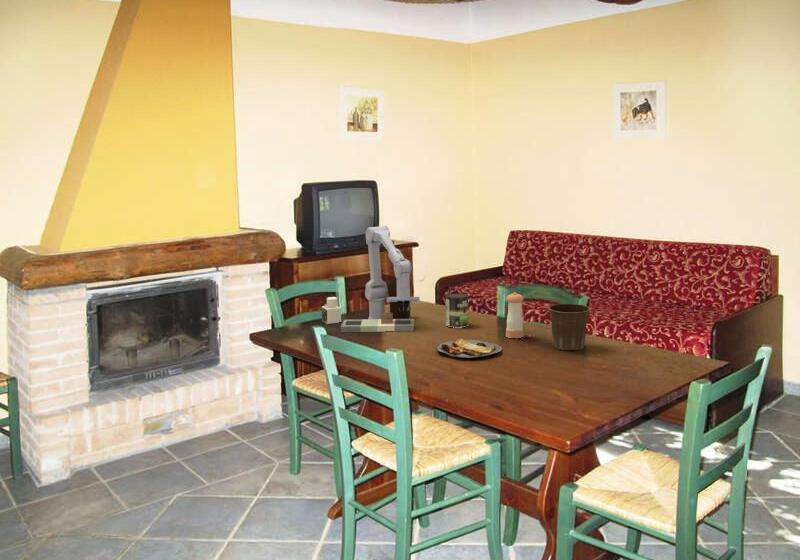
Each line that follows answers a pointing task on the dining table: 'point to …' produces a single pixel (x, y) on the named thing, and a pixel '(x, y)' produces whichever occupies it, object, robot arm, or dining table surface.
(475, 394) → the dining table surface
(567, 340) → the plant pot
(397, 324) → the trap lane
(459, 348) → the food plate
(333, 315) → the medicine bottle
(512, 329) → the pepper shaker
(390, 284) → the olive oil
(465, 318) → the coffee can
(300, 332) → the dining table surface
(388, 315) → the walnut block
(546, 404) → the dining table surface
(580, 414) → the dining table surface
